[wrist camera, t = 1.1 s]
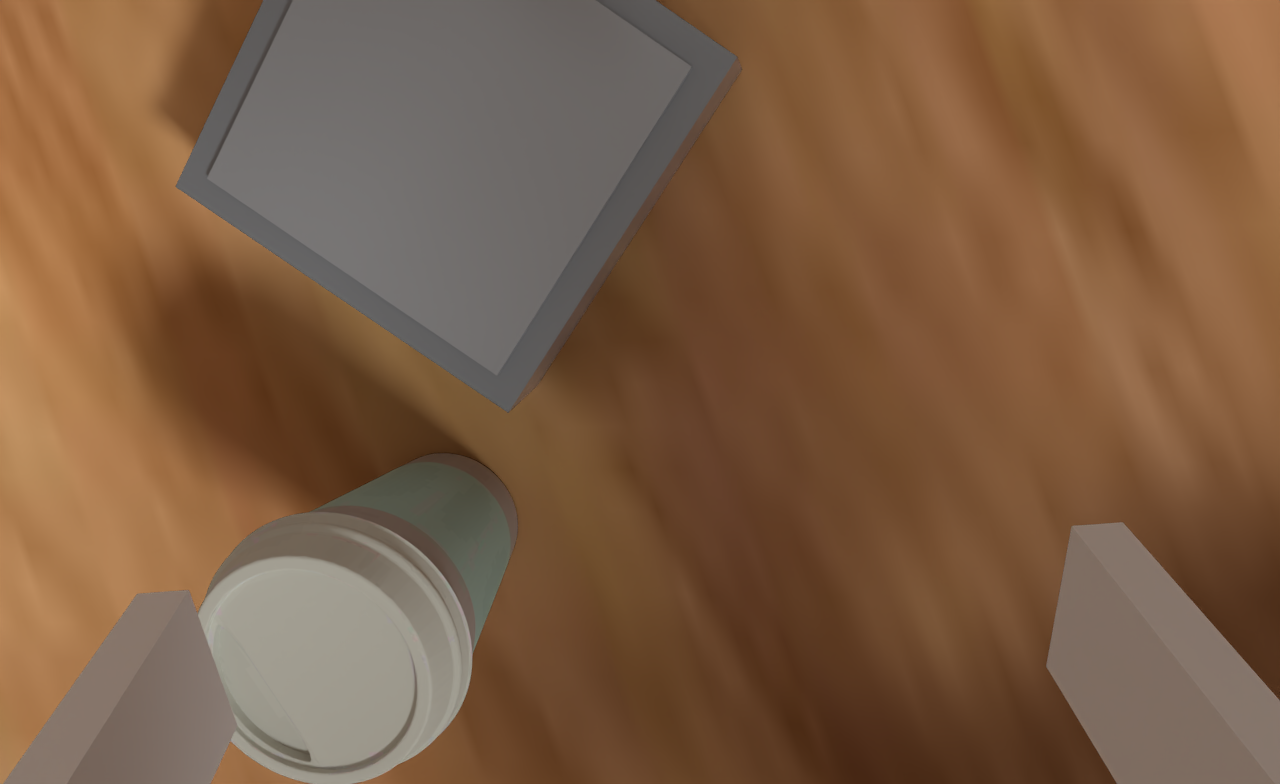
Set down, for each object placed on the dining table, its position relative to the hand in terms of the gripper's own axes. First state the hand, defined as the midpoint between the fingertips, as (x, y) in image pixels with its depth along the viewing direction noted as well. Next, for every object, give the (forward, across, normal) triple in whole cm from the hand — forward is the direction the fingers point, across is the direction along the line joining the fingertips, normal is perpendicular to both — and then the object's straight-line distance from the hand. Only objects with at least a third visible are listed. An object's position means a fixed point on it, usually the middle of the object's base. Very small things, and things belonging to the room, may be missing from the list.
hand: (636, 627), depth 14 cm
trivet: (+24, +5, -3) cm, 25 cm away
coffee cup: (+21, +8, +12) cm, 26 cm away
